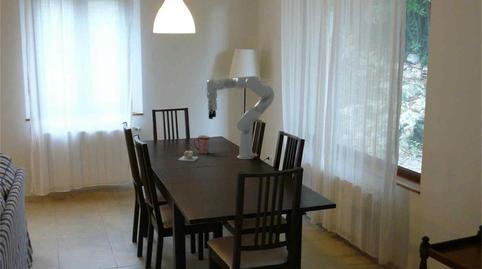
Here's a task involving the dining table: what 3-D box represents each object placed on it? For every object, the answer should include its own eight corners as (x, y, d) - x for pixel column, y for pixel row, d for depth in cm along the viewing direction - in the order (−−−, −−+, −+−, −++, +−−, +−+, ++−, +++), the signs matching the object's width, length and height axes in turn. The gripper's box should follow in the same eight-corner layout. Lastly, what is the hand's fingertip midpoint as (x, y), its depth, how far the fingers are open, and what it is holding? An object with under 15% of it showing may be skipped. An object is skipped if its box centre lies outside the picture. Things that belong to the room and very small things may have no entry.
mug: (209, 151, 418) (209, 135, 415) (209, 154, 409) (209, 137, 406) (193, 151, 416) (193, 135, 414) (193, 154, 407) (193, 137, 405)
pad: (198, 157, 396) (198, 156, 395) (193, 161, 384) (193, 160, 384) (183, 156, 398) (183, 155, 398) (178, 160, 387) (178, 159, 387)
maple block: (192, 157, 393) (192, 151, 392) (190, 159, 388) (190, 152, 387) (186, 157, 394) (186, 150, 393) (184, 158, 389) (184, 152, 388)
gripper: (214, 97, 389) (214, 119, 393) (219, 94, 406) (219, 116, 409) (204, 97, 391) (204, 119, 394) (210, 94, 408) (210, 116, 411)
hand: (212, 117), depth 402 cm, fingers open, 9 cm apart
